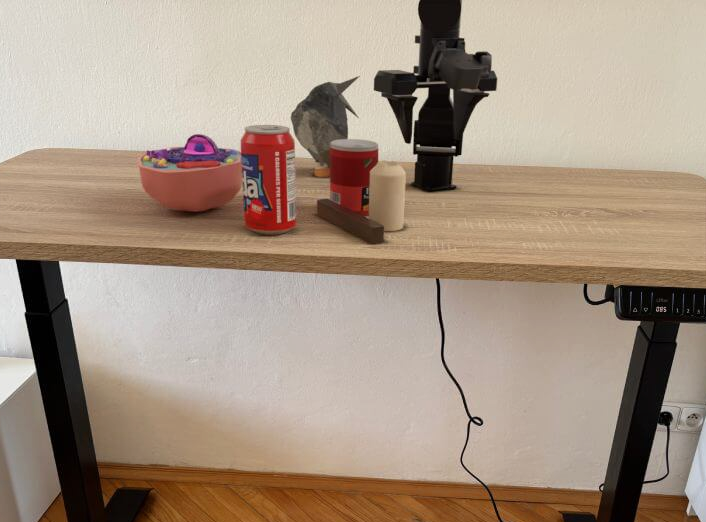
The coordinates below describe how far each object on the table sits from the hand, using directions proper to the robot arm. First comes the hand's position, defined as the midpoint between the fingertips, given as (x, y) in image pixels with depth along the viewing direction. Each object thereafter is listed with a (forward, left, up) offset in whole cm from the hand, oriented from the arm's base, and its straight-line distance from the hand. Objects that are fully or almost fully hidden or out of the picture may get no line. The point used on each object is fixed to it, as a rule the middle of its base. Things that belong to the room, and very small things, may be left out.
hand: (433, 141), depth 120 cm
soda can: (+24, -7, -13) cm, 29 cm away
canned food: (+7, -12, -13) cm, 19 cm away
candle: (+7, -1, -13) cm, 15 cm away
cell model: (+30, -24, -13) cm, 41 cm away
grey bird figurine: (-3, -40, -13) cm, 42 cm away
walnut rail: (+13, -3, -13) cm, 18 cm away
